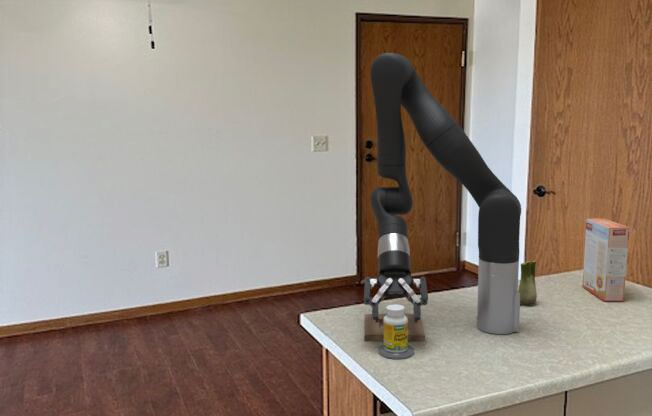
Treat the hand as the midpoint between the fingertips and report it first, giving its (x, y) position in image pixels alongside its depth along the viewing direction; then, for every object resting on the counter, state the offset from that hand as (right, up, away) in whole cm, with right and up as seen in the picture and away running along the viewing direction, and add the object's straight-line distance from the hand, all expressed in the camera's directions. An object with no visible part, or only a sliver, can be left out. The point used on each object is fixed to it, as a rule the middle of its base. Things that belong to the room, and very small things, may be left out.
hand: (396, 321), depth 126 cm
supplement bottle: (0, -7, +1) cm, 7 cm away
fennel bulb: (+39, -2, +31) cm, 50 cm away
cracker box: (+63, 0, +38) cm, 74 cm away
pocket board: (+1, -5, +14) cm, 15 cm away
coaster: (0, -7, +1) cm, 7 cm away
